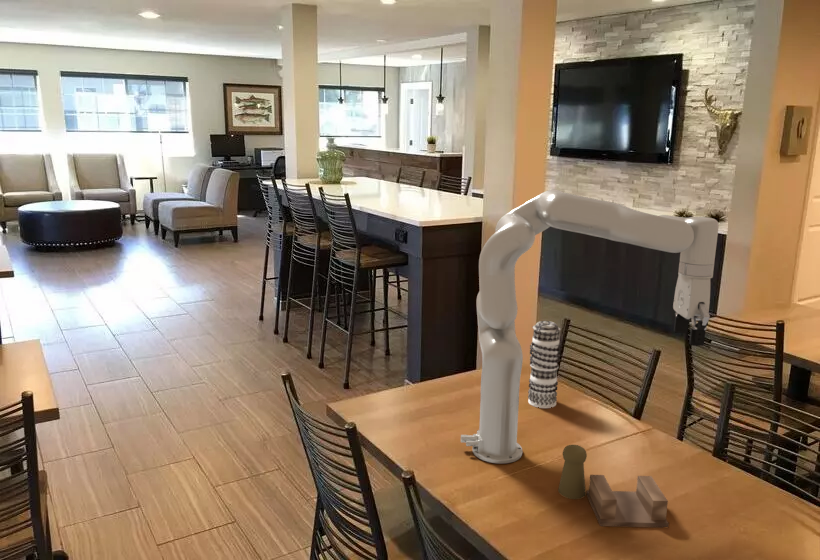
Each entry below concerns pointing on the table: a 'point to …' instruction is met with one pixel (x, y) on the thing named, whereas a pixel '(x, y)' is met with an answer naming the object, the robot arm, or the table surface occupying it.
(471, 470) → the table surface
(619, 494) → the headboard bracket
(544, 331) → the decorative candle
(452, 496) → the table surface
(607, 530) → the table surface
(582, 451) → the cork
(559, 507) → the table surface
